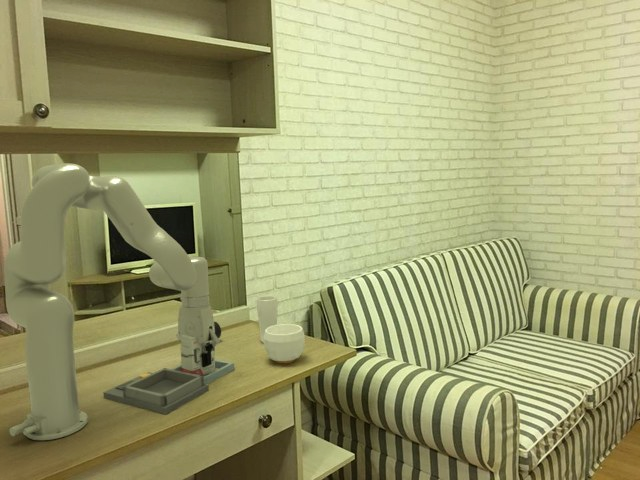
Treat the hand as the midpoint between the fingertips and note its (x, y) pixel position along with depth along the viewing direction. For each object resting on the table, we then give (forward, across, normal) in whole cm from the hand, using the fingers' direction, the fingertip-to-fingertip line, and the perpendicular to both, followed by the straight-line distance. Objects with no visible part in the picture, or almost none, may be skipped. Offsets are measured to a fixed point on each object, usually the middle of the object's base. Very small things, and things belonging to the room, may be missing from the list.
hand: (198, 363), depth 145 cm
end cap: (+3, -18, +22) cm, 29 cm away
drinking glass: (+3, +1, +33) cm, 33 cm away
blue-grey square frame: (+3, 0, 0) cm, 3 cm away
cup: (+3, +16, +20) cm, 26 cm away
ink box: (+3, 0, 0) cm, 3 cm away
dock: (+3, -1, -15) cm, 15 cm away
